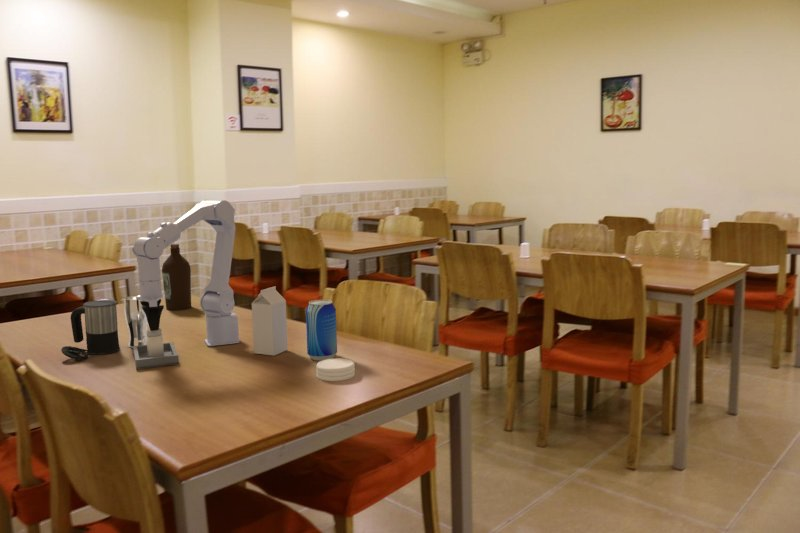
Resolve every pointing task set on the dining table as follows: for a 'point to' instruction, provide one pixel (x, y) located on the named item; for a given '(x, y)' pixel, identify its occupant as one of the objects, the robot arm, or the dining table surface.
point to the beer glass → (135, 321)
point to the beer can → (321, 330)
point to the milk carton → (269, 323)
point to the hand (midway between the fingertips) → (153, 327)
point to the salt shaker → (154, 343)
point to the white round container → (335, 369)
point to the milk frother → (94, 329)
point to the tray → (145, 362)
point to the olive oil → (177, 280)
